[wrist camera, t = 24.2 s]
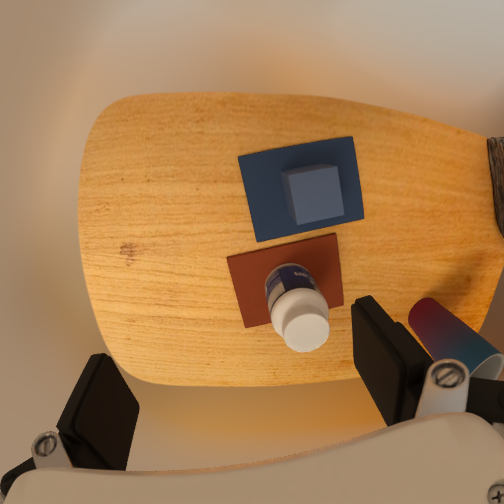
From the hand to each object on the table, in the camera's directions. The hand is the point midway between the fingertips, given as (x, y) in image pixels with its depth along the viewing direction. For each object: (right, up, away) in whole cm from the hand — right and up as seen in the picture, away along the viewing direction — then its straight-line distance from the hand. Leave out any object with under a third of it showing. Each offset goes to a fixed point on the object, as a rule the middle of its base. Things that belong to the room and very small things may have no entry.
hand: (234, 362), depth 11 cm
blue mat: (+6, +11, +20) cm, 24 cm away
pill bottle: (+5, +1, +23) cm, 24 cm away
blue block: (+6, +10, +20) cm, 23 cm away
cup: (+24, -4, +27) cm, 37 cm away
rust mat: (+5, +1, +24) cm, 24 cm away
